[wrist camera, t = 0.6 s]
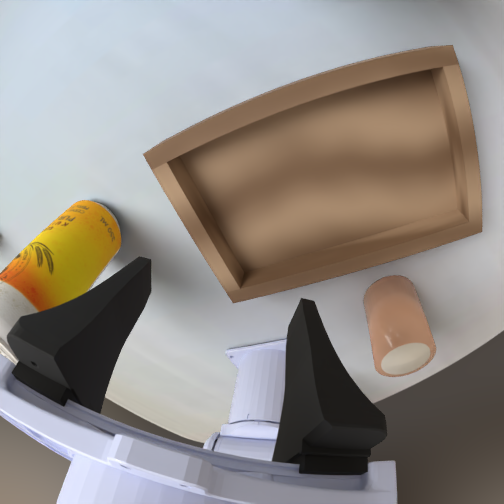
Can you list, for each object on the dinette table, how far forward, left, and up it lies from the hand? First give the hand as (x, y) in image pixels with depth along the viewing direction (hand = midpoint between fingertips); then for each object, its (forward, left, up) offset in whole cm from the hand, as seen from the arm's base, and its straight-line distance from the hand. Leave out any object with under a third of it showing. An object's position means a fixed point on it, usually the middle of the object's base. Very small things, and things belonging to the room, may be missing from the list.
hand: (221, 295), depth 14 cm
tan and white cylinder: (-13, -8, -10) cm, 18 cm away
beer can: (+3, +14, -10) cm, 17 cm away
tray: (0, -6, -10) cm, 12 cm away
